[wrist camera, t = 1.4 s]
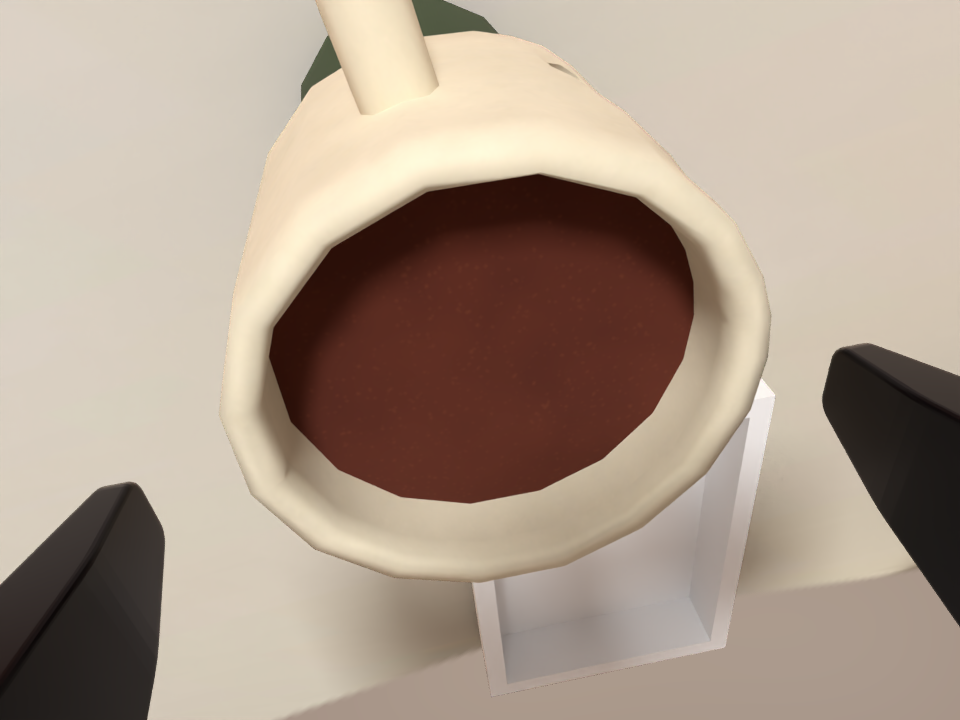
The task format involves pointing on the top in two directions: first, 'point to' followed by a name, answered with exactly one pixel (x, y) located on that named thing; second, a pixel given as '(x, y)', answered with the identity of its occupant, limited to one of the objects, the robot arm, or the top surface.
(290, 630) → the top surface
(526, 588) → the white open box
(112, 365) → the top surface
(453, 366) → the character mug
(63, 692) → the robot arm
